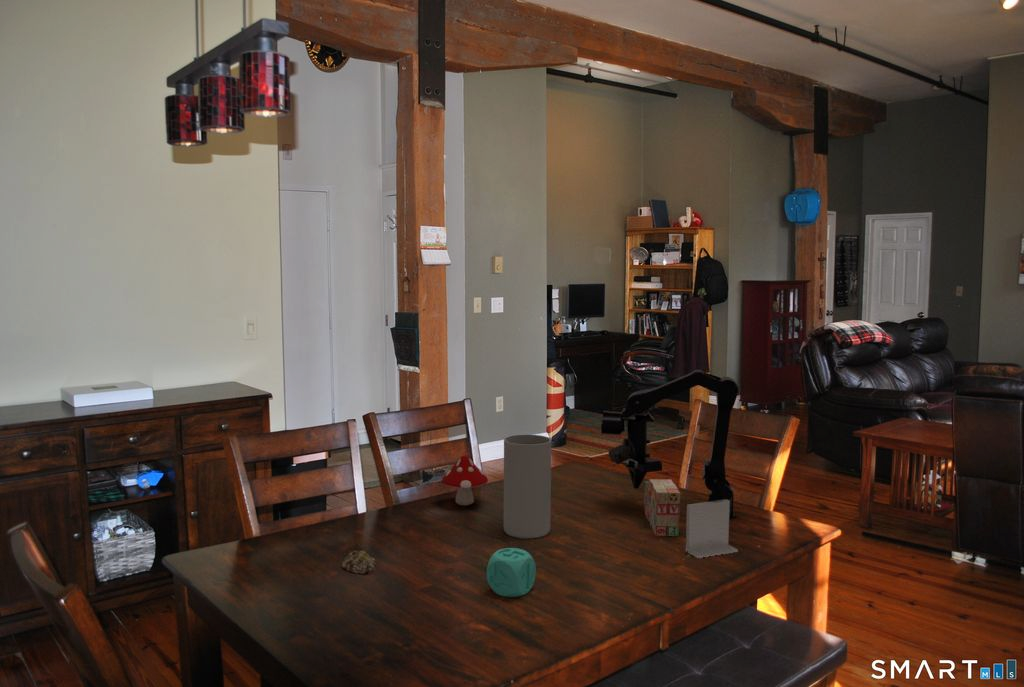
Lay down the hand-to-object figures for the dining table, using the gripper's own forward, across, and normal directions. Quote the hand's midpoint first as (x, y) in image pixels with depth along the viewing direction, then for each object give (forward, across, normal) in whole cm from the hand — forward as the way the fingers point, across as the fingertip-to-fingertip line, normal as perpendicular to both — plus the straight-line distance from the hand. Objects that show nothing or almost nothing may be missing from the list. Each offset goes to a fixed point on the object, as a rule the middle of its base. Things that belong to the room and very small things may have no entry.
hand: (636, 488), depth 223 cm
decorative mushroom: (+6, -22, -45) cm, 51 cm away
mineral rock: (+7, +14, -83) cm, 85 cm away
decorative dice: (+7, +39, -55) cm, 68 cm away
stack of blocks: (+7, +13, 0) cm, 15 cm away
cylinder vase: (+7, +6, -37) cm, 38 cm away
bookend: (+6, +36, 0) cm, 36 cm away
